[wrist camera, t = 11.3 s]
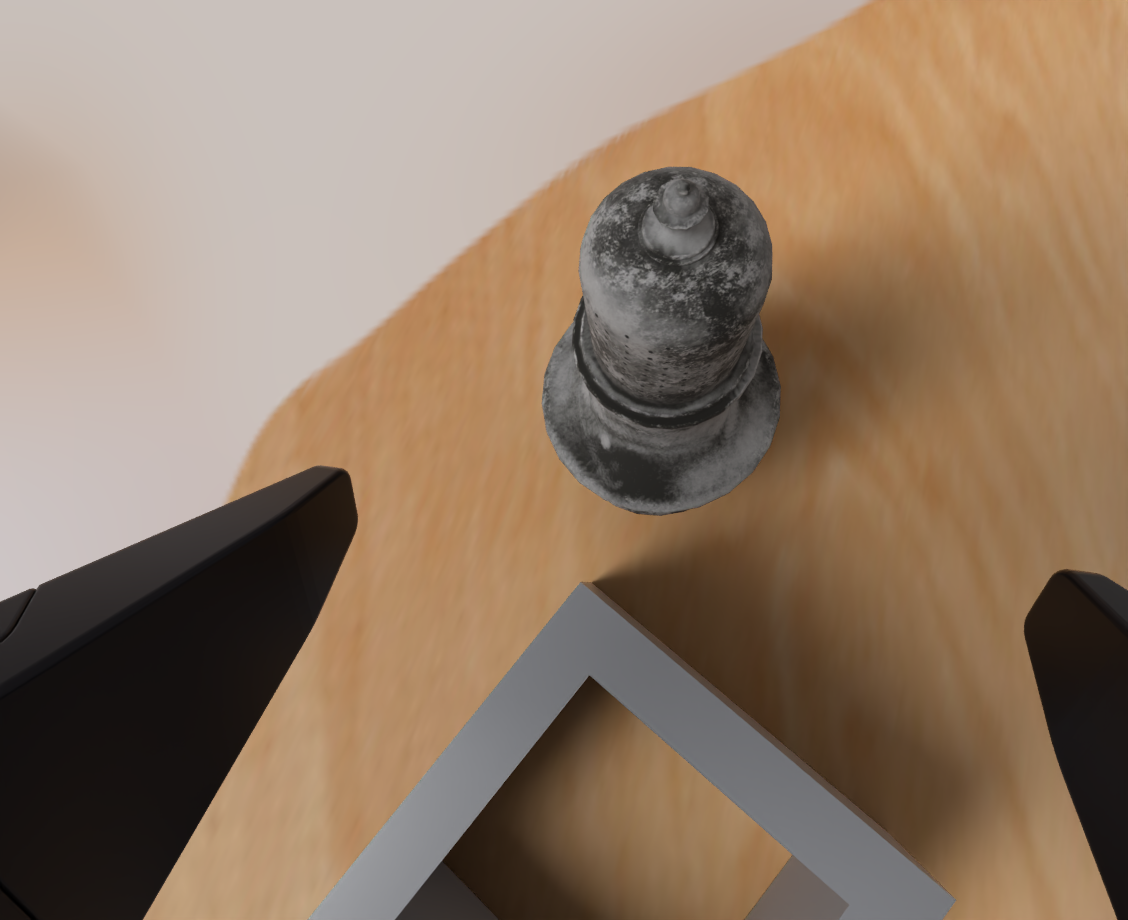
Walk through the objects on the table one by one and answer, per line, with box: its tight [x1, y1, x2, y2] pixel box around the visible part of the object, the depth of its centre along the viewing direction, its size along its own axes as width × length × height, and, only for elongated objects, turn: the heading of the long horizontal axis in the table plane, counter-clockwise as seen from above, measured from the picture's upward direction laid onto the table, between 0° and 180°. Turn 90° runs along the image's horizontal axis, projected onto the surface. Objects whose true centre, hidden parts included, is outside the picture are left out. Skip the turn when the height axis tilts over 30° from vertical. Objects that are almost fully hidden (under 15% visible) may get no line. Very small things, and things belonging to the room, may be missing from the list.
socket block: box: [308, 582, 956, 920], centre depth 15 cm, size 10×10×4 cm
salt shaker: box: [542, 167, 781, 516], centre depth 13 cm, size 6×6×12 cm
